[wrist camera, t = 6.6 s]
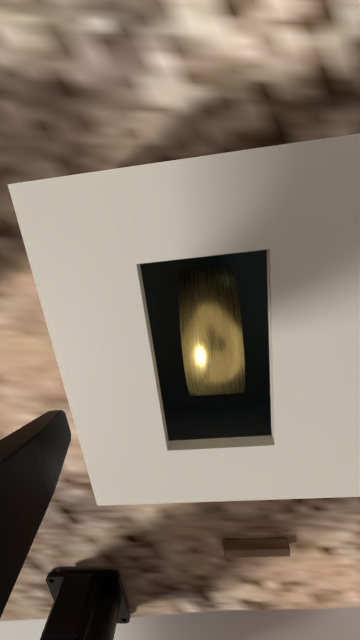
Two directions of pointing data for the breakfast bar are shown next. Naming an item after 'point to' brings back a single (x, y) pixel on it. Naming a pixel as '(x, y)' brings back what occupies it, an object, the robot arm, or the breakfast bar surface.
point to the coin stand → (256, 547)
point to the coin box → (164, 325)
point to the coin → (211, 332)
